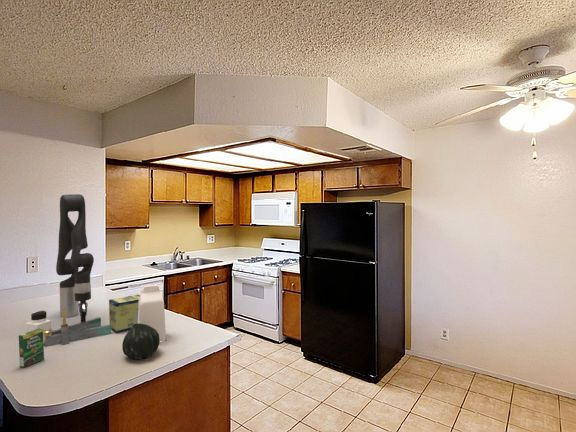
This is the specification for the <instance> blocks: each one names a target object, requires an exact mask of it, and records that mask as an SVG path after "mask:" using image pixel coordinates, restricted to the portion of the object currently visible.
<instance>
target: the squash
mask: <svg viewBox="0 0 576 432" xmlns="http://www.w3.org/2000/svg"><path fill="white" fill-rule="evenodd" d="M159 340H160V339H159V334H158V332H157V330H155V329H154V328H152V327H150V326H149V325H146V324H138V323H137V324H134V325H133V326H132V327H131V329H130V330H129V331H127V333H126V334H125V335H124V338H123V340H122V345H121V347H122V352H123V354H124V356H125V357H127V358H129V359H130V360H131V359H132V360H134V359H135V358H136V359H137V360H142V359H144V358H147V359H148V358H149V357H151V356H152V355H153V354H154V353H155V352H157V351H158V349H159V345H160V342H159ZM136 359H135V360H136Z"/></svg>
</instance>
